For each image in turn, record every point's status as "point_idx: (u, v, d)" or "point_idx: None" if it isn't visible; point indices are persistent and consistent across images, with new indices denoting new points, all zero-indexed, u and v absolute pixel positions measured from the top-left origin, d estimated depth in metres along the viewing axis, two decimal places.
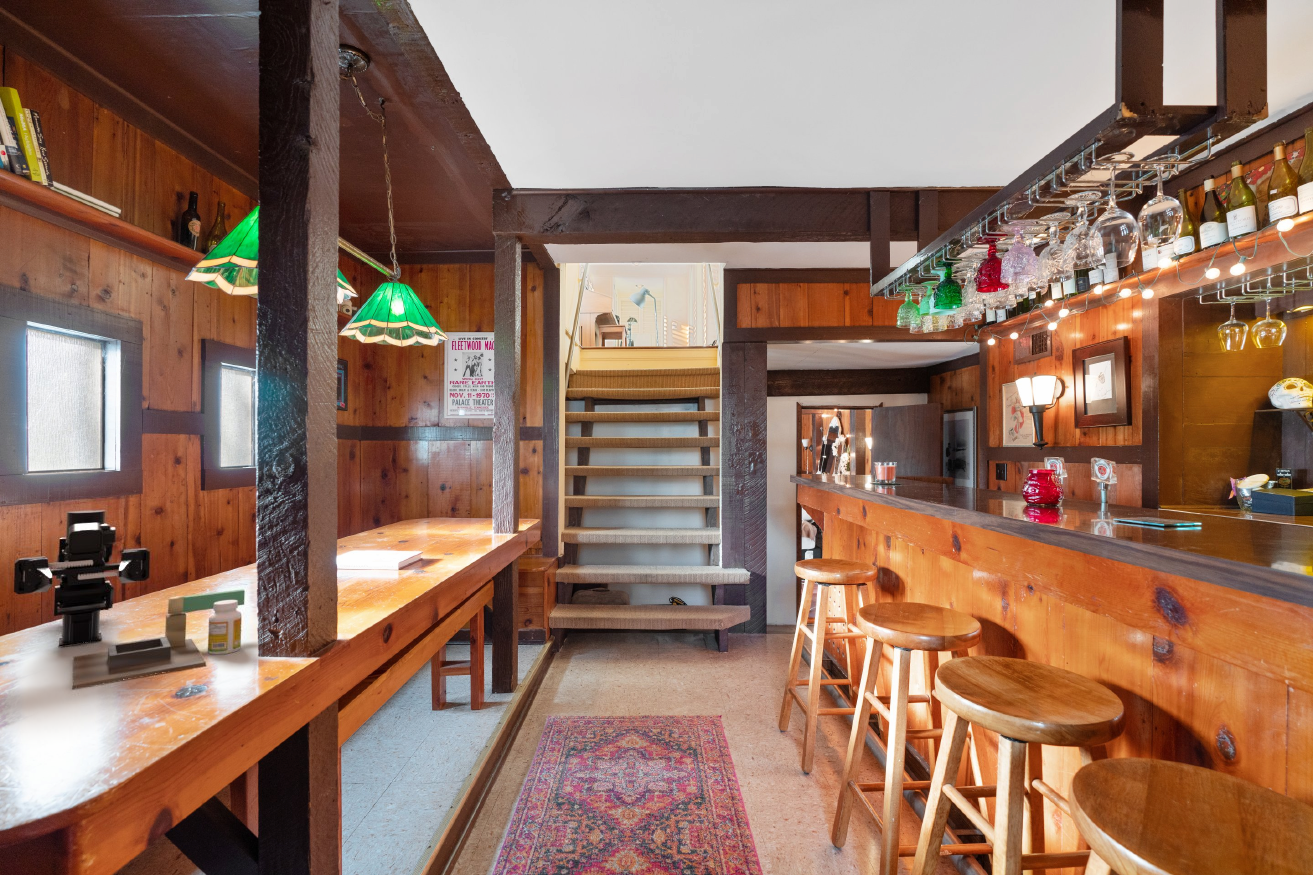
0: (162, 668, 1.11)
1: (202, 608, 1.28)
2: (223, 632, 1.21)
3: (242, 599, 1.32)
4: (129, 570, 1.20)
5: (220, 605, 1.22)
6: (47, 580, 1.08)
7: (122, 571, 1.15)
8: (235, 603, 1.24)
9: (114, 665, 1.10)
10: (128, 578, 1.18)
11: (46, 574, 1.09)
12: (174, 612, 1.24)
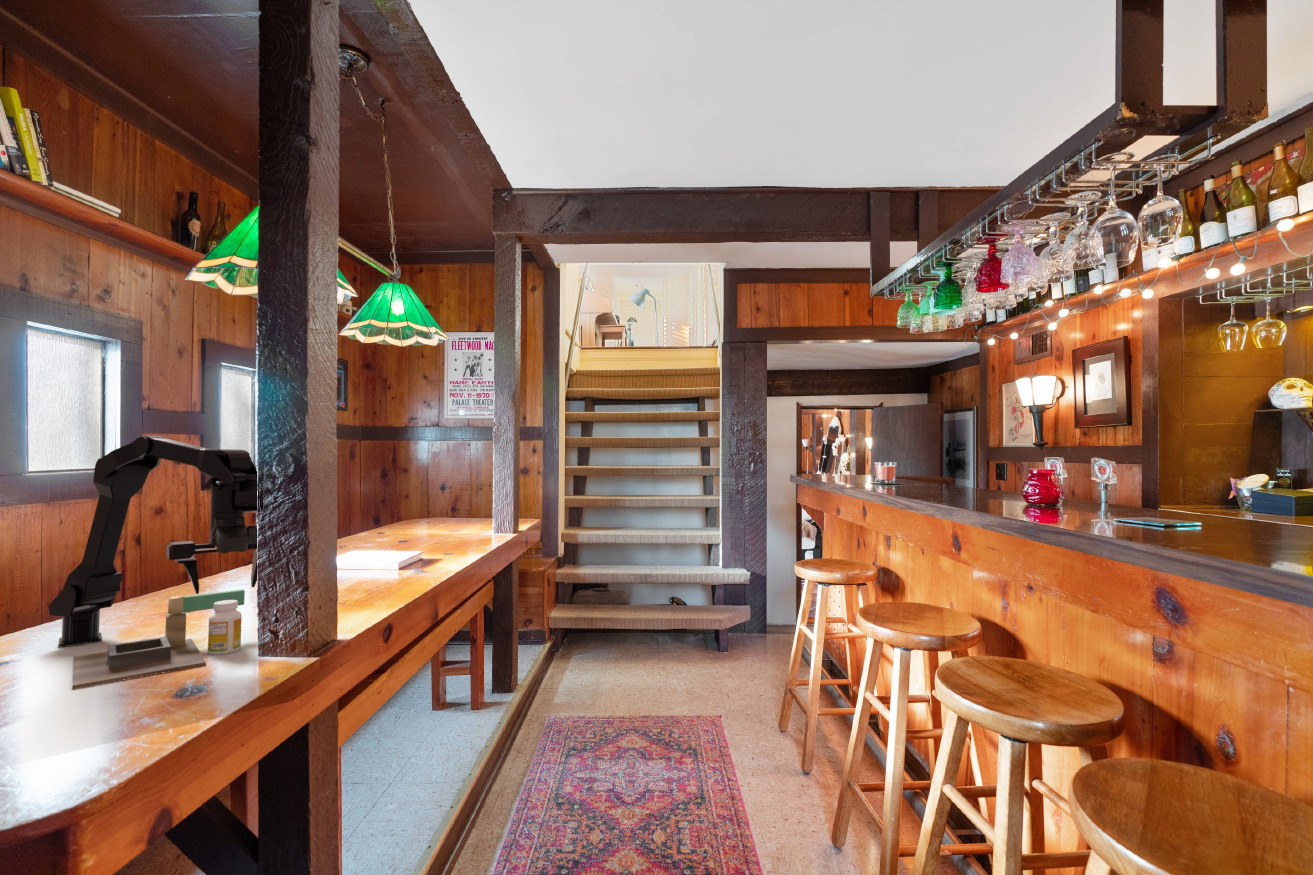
0: (162, 668, 1.11)
1: (202, 608, 1.28)
2: (223, 632, 1.21)
3: (242, 599, 1.32)
4: None
5: (220, 605, 1.22)
6: (194, 589, 1.20)
7: (254, 584, 1.27)
8: (235, 603, 1.24)
9: (114, 665, 1.10)
10: None
11: (194, 584, 1.20)
12: (174, 612, 1.24)
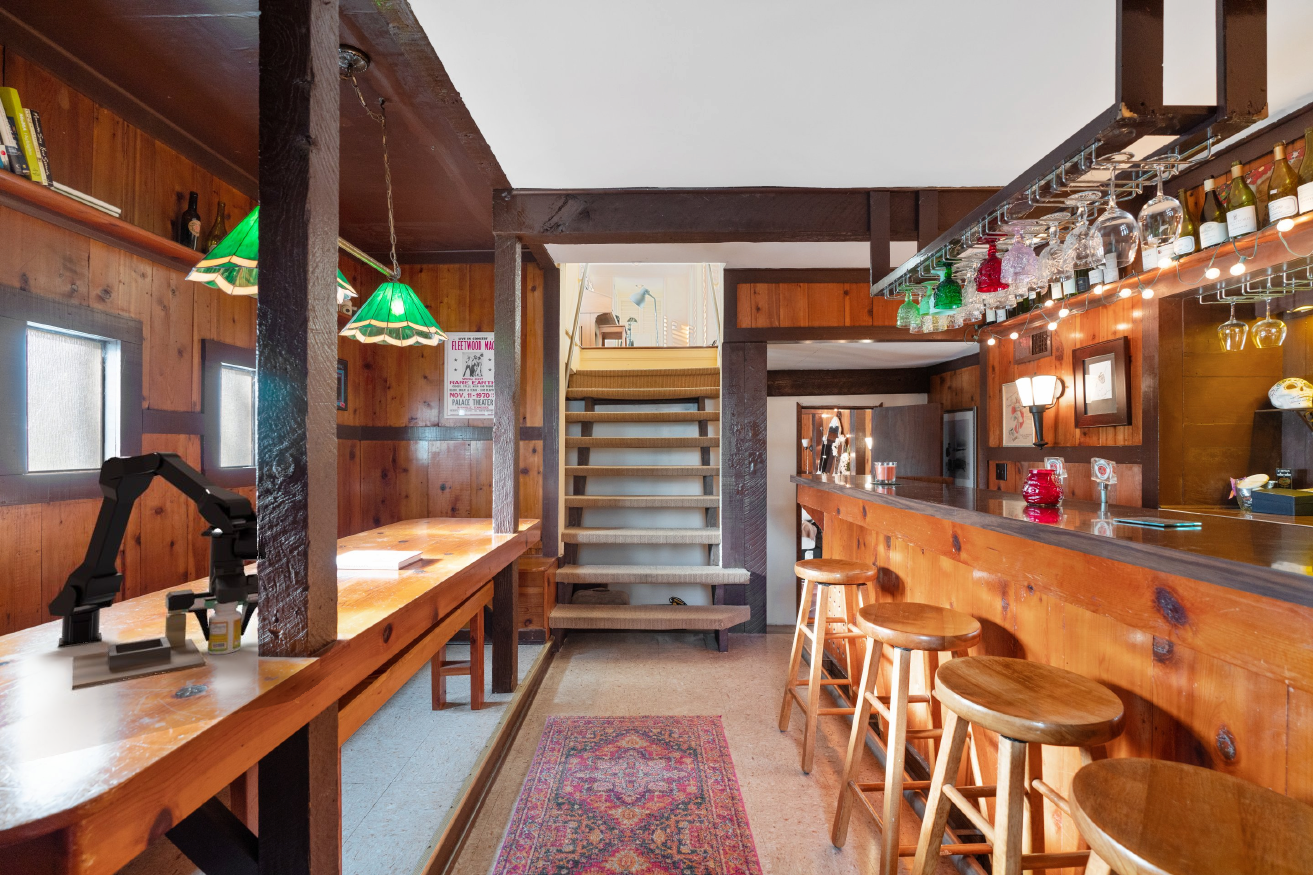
0: (162, 668, 1.11)
1: None
2: (223, 632, 1.21)
3: None
4: None
5: (220, 605, 1.22)
6: None
7: None
8: (235, 603, 1.24)
9: (114, 665, 1.10)
10: None
11: (204, 632, 1.21)
12: (174, 612, 1.24)
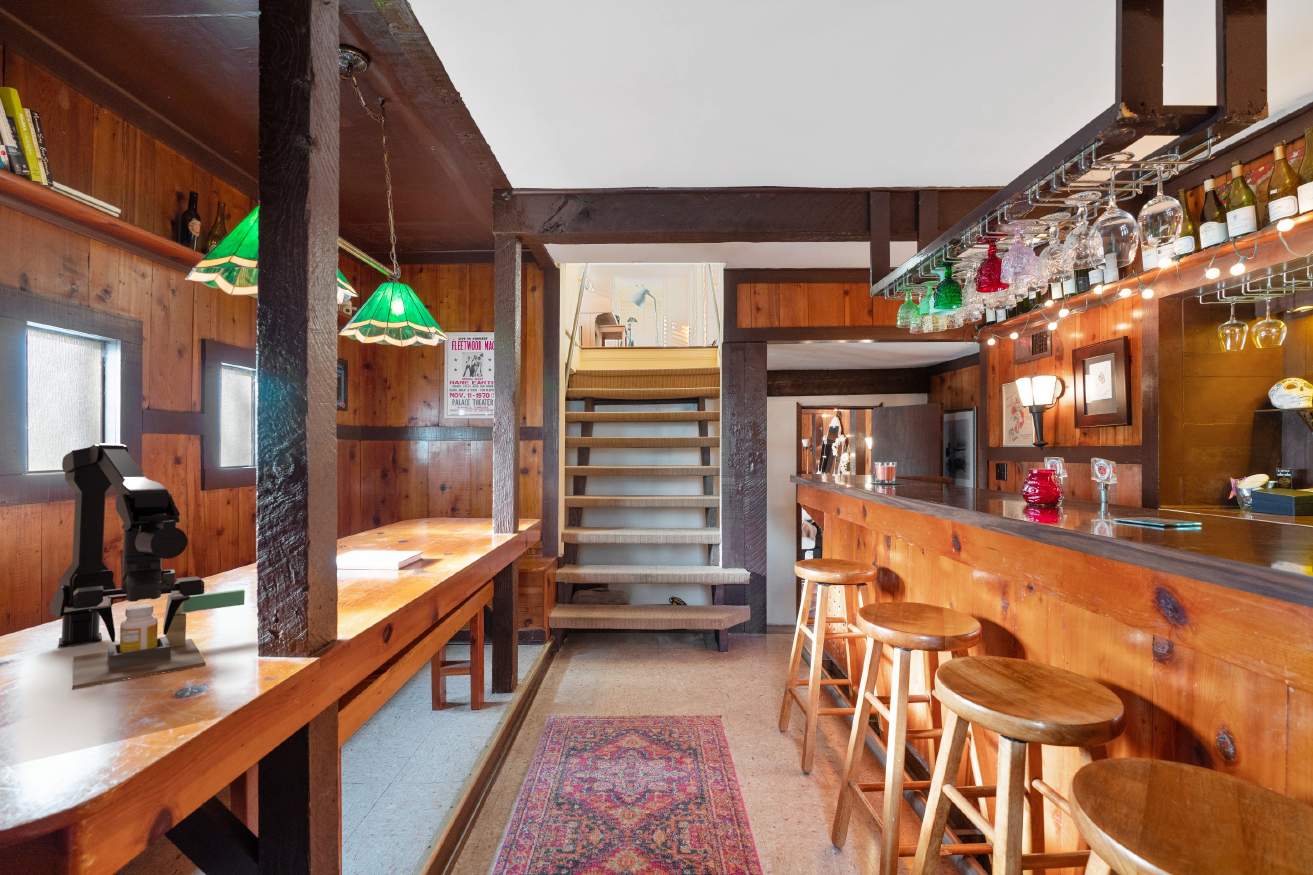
0: (162, 668, 1.11)
1: (202, 608, 1.28)
2: (135, 640, 1.14)
3: (242, 599, 1.32)
4: None
5: (132, 611, 1.14)
6: (110, 637, 1.13)
7: None
8: (149, 608, 1.16)
9: (114, 665, 1.10)
10: None
11: (109, 632, 1.13)
12: None
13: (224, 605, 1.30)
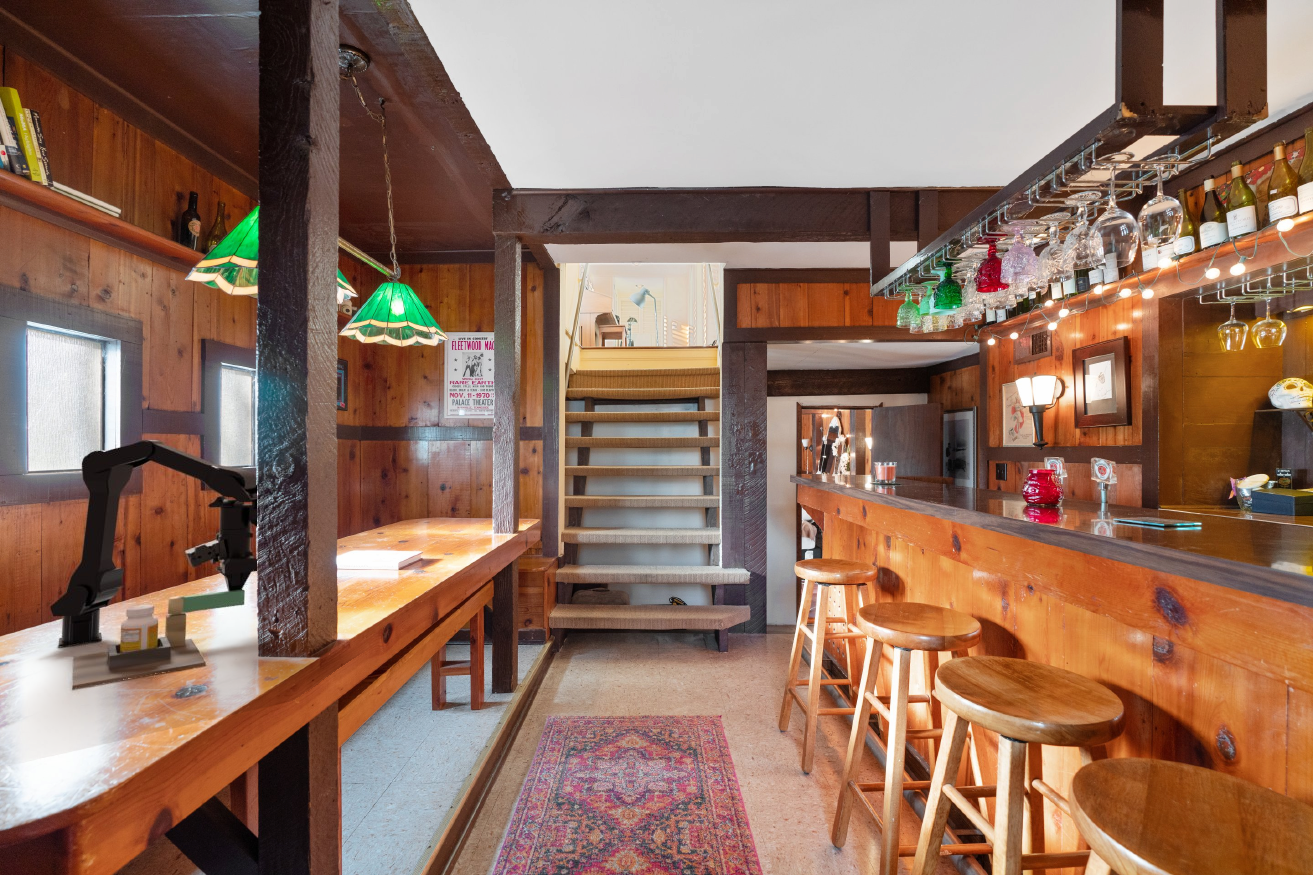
0: (162, 668, 1.11)
1: (202, 608, 1.28)
2: (135, 640, 1.14)
3: (242, 599, 1.32)
4: None
5: (133, 611, 1.14)
6: None
7: None
8: (150, 608, 1.16)
9: (114, 665, 1.10)
10: (244, 581, 1.34)
11: None
12: (174, 612, 1.24)
13: (224, 605, 1.30)
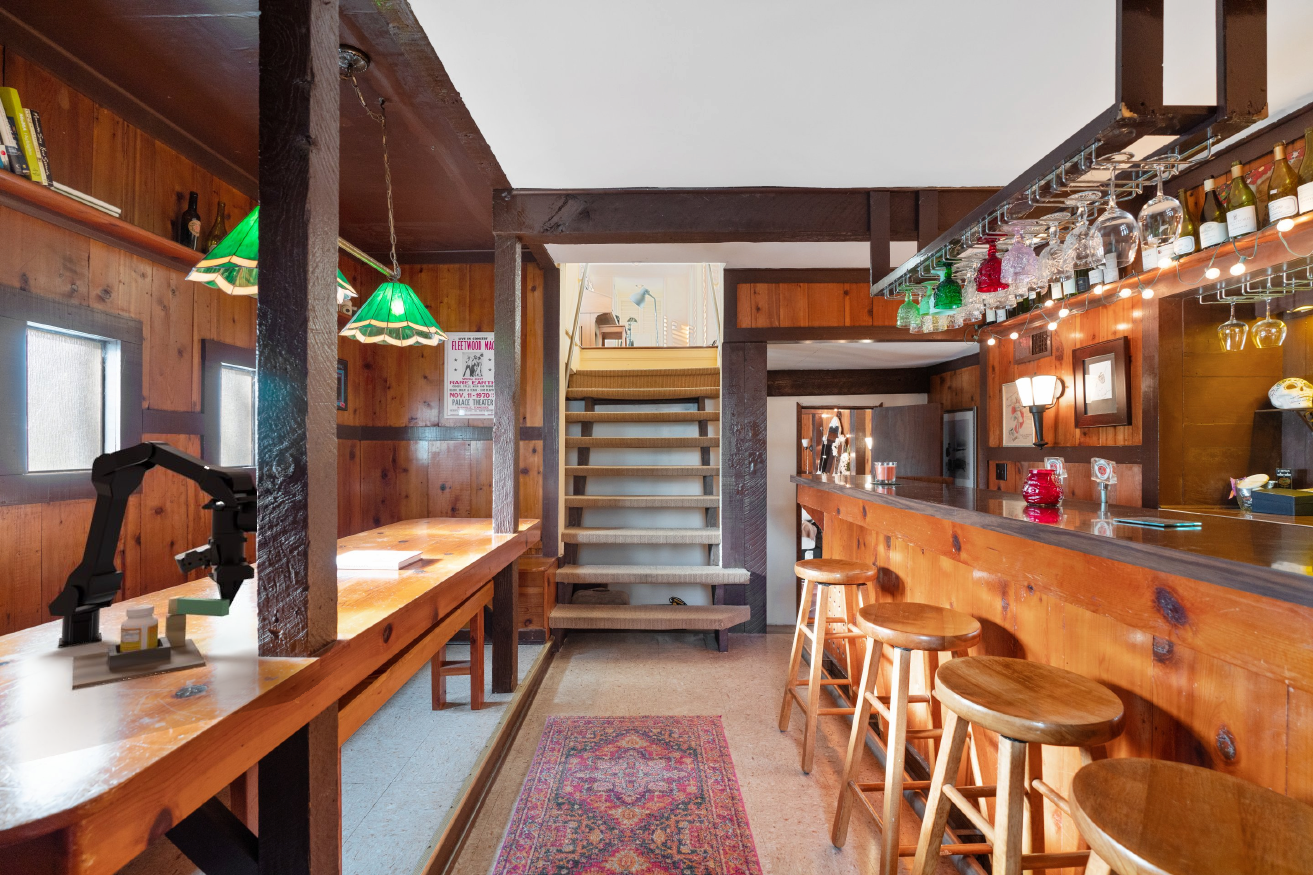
0: (162, 668, 1.11)
1: (190, 613, 1.24)
2: (135, 640, 1.14)
3: (220, 610, 1.23)
4: None
5: (133, 611, 1.14)
6: None
7: None
8: (150, 608, 1.16)
9: (114, 665, 1.10)
10: (238, 588, 1.27)
11: (220, 598, 1.26)
12: (168, 612, 1.24)
13: (206, 613, 1.23)
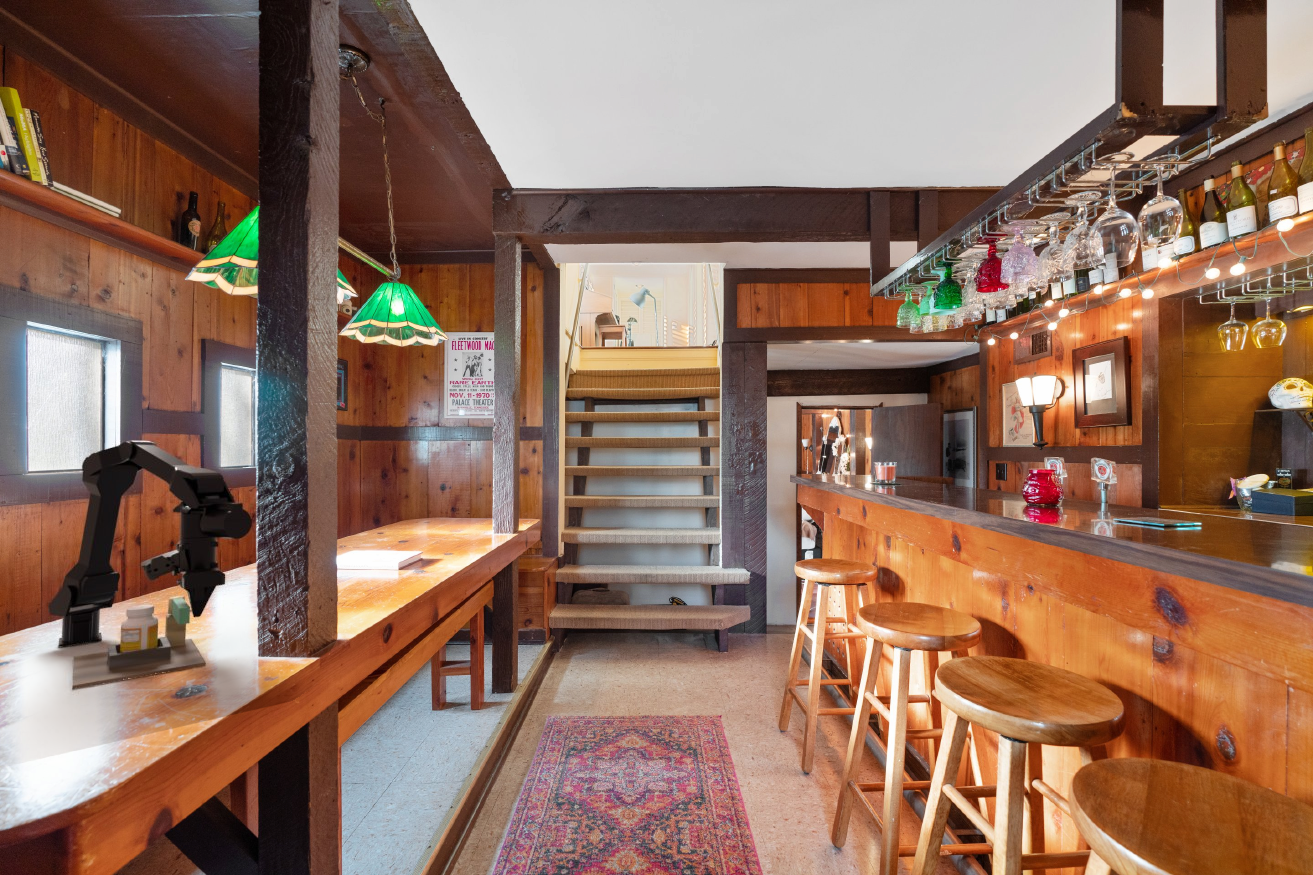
0: (162, 668, 1.11)
1: (174, 615, 1.22)
2: (135, 640, 1.14)
3: (178, 618, 1.17)
4: None
5: (133, 611, 1.14)
6: None
7: (195, 614, 1.20)
8: (150, 608, 1.16)
9: (114, 665, 1.10)
10: (209, 595, 1.20)
11: (191, 606, 1.20)
12: (168, 611, 1.25)
13: (176, 619, 1.19)
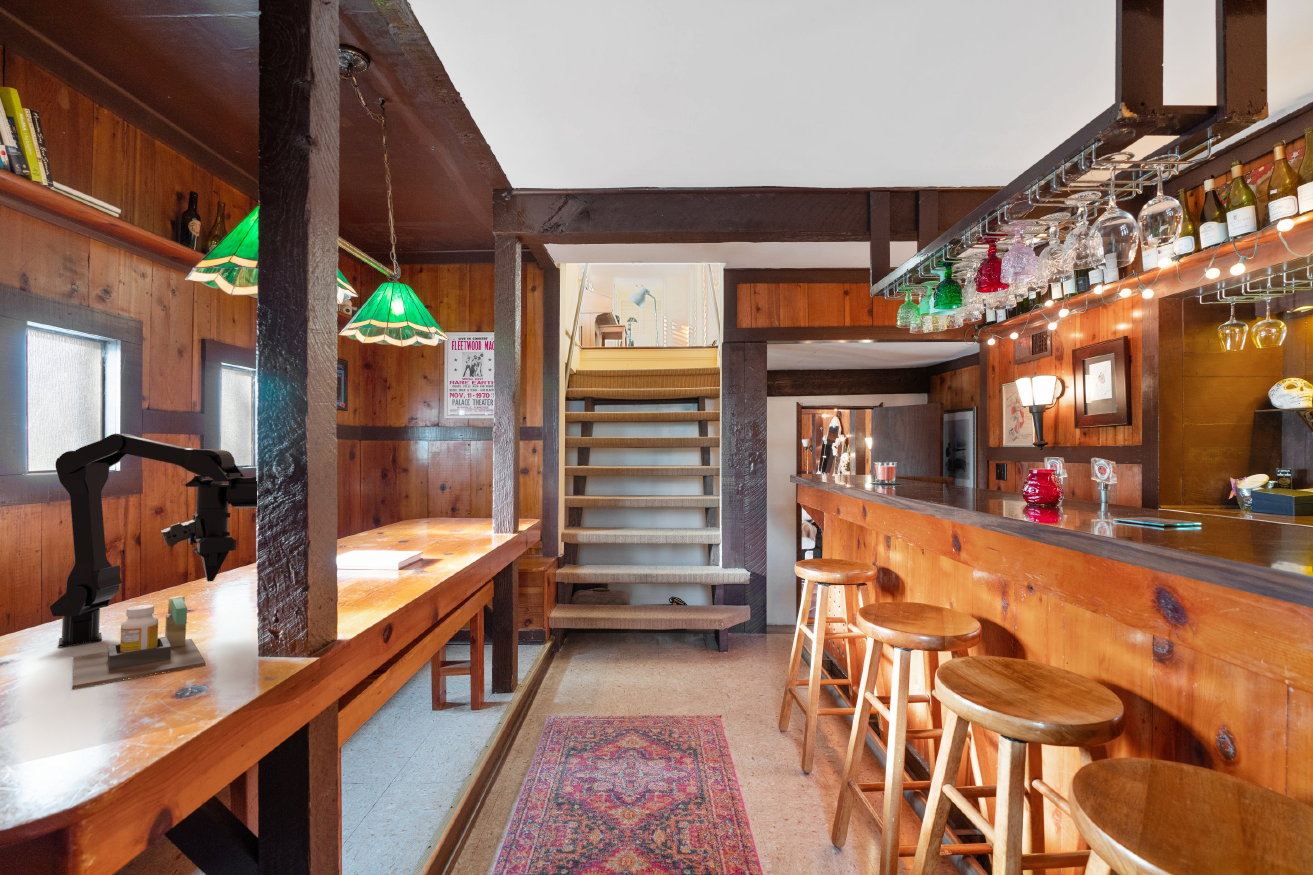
0: (162, 668, 1.11)
1: (173, 615, 1.22)
2: (135, 640, 1.14)
3: (175, 618, 1.17)
4: None
5: (133, 611, 1.14)
6: None
7: (209, 579, 1.32)
8: (150, 608, 1.16)
9: (114, 665, 1.10)
10: (221, 562, 1.33)
11: (205, 571, 1.33)
12: (168, 611, 1.25)
13: (174, 619, 1.19)
